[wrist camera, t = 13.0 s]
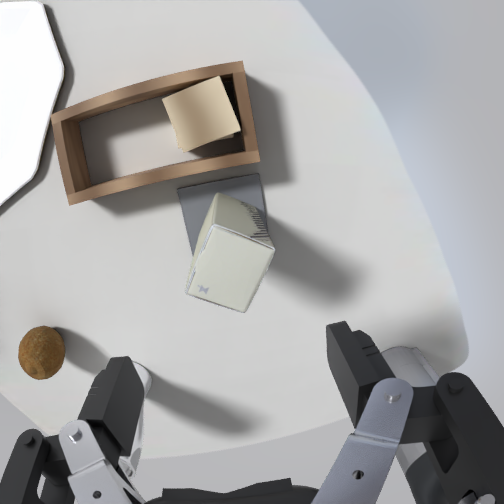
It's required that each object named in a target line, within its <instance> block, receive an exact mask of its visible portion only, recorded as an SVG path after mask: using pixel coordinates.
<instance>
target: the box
mask: <svg viewBox="0 0 504 504" xmlns="http://www.w3.org/2000/svg"><path fill="white" fill-rule="evenodd" d="M274 253H275V247H274V245H273V243H272V241H271V239H270V237H269V235H268V232H267V230H266V228H265V226H264V224H263V222H262V220H261V218H260V215H259V213H258V211H257V209H256V207H254V206H252V205H249V204H247V203H245V202H243V201H240V200H238V199H235V198H233V197H230V196H228V195H225V194H222V193H219V192H218V193H216V195H215V197H214V199H213V201H212V203H211V205H210V208H209V210H208V213H207V215H206V218H205V220H204V223H203V225H202V228H201V230H200V233H199V236H198V241H197V245H196V249H195V252H194V256H193V260H192V264H191V268H190V272H189V276H188V280H187V284H186V288H185V293H186V294H187V295H189V296H192V297H195V298H198V299H201V300H204V301H206V302H209V303H212V304H215V305H218V306H222V307H225V308H228V309H231V310H235V311H238V312H242V313H245V312H246V311H247V309H248V307H249V306H250V304H251V302H252V300H253V298H254V296H255V294H256V292H257V290H258V288H259V286H260V284H261V282H262V280H263V278H264V276H265V274H266V271H267V269H268V267H269V265H270V263H271V260H272V258H273V256H274Z"/></svg>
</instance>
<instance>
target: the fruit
mask: <svg viewBox="0 0 504 504" xmlns="http://www.w3.org/2000/svg"><path fill="white" fill-rule="evenodd" d="M64 357H65V345H64V341H63V339H62V337H61V336H60V334H59V333H58V332H57V331H56V330H54V329H52V328H50V327H47V326H40V327H36V328H33V329H31V330H30V331H29V332H28V333H27V334H26V335H25V336H24V337H23V339H22V340H21V342H20V345H19V355H18V358H19V362H20V365H21V367H22V369H23V370H24V371H25V372H26V373H27V374H28V375H29V376H31V377H32V378H34V379H38V380H42V379H48V378H50V377H52V376H53V375H54V374H56V373H57V372H58V371H59V369H60V368H61V367H62V364H63V361H64Z"/></svg>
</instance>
